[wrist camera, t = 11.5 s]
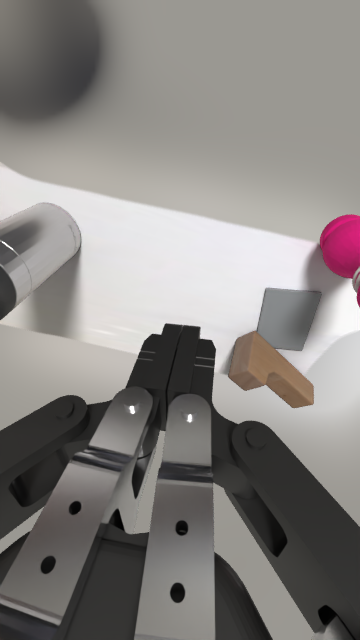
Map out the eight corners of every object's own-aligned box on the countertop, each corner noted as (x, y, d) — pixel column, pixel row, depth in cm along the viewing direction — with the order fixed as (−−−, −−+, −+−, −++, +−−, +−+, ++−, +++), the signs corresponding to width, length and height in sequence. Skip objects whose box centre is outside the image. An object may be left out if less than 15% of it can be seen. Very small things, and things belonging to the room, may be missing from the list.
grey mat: (254, 343, 54) (254, 345, 53) (266, 287, 47) (266, 289, 46) (301, 348, 53) (302, 350, 52) (320, 292, 45) (321, 294, 45)
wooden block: (226, 377, 48) (292, 431, 53) (248, 370, 44) (314, 427, 50) (236, 338, 54) (293, 389, 59) (255, 329, 50) (314, 384, 56)
